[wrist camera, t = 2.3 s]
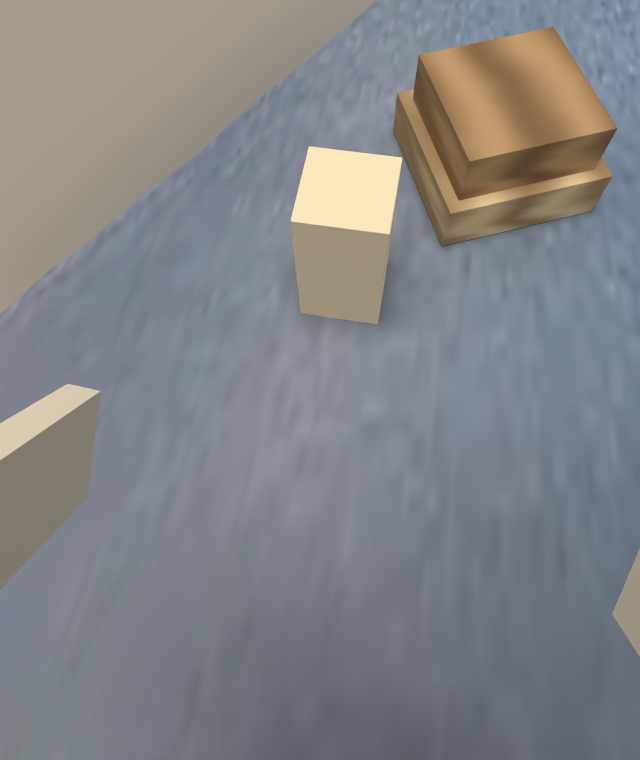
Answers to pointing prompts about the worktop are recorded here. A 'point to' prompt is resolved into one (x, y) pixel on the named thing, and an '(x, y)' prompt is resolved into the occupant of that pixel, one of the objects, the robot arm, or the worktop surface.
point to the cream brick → (344, 232)
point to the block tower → (503, 136)
